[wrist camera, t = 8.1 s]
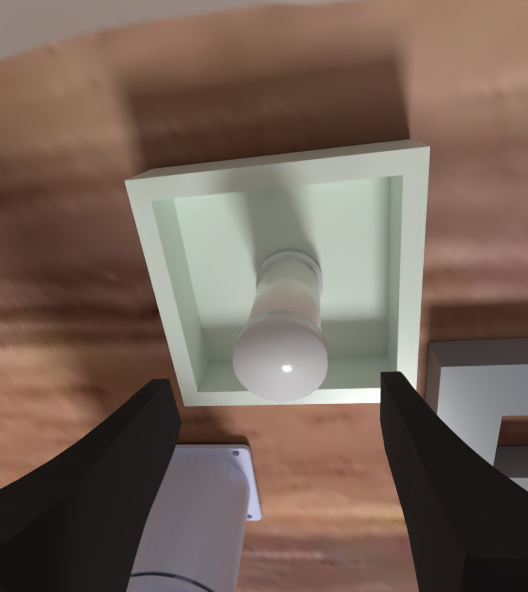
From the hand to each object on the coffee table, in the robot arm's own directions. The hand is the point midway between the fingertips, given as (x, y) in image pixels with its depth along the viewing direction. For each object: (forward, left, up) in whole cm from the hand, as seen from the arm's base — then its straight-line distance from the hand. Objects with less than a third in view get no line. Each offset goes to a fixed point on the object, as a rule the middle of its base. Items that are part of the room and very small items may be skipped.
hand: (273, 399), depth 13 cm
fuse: (0, 0, -10) cm, 10 cm away
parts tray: (0, 0, -10) cm, 10 cm away
